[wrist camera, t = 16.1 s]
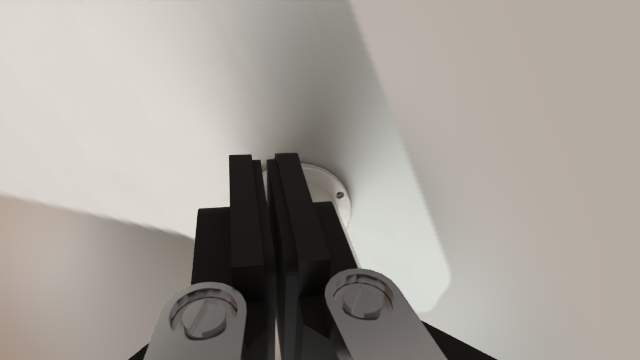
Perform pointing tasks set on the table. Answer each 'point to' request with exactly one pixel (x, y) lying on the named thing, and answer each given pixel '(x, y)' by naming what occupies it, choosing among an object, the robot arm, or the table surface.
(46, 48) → the table surface
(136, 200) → the table surface
